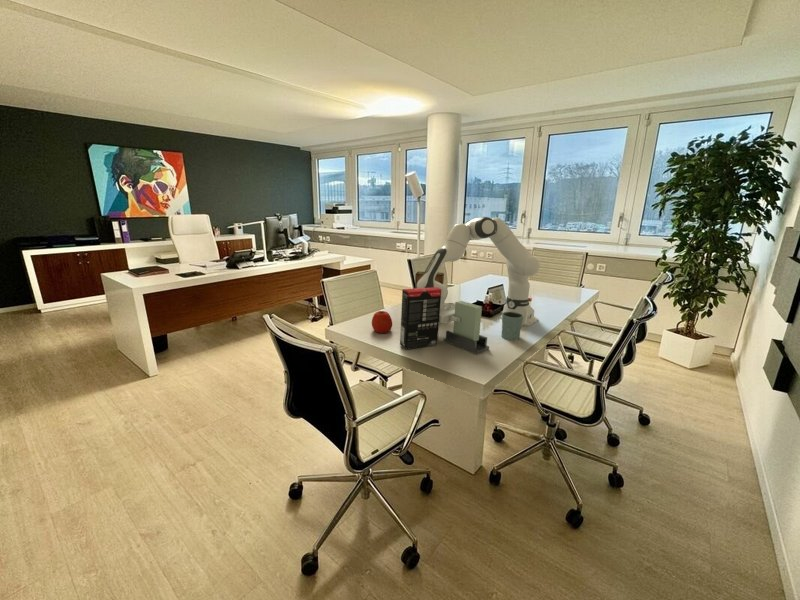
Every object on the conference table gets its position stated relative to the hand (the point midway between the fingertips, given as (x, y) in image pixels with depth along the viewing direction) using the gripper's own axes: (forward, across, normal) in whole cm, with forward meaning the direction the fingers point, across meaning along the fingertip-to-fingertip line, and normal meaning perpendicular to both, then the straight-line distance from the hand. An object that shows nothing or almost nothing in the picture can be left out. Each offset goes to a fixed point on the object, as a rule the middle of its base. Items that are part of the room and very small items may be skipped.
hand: (464, 318), depth 158 cm
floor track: (+2, 0, +12) cm, 13 cm away
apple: (-37, -19, +13) cm, 44 cm away
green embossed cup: (+9, +27, +13) cm, 31 cm away
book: (-44, +21, +13) cm, 51 cm away
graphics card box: (-11, -17, +13) cm, 24 cm away
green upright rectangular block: (+2, 0, +8) cm, 9 cm away
